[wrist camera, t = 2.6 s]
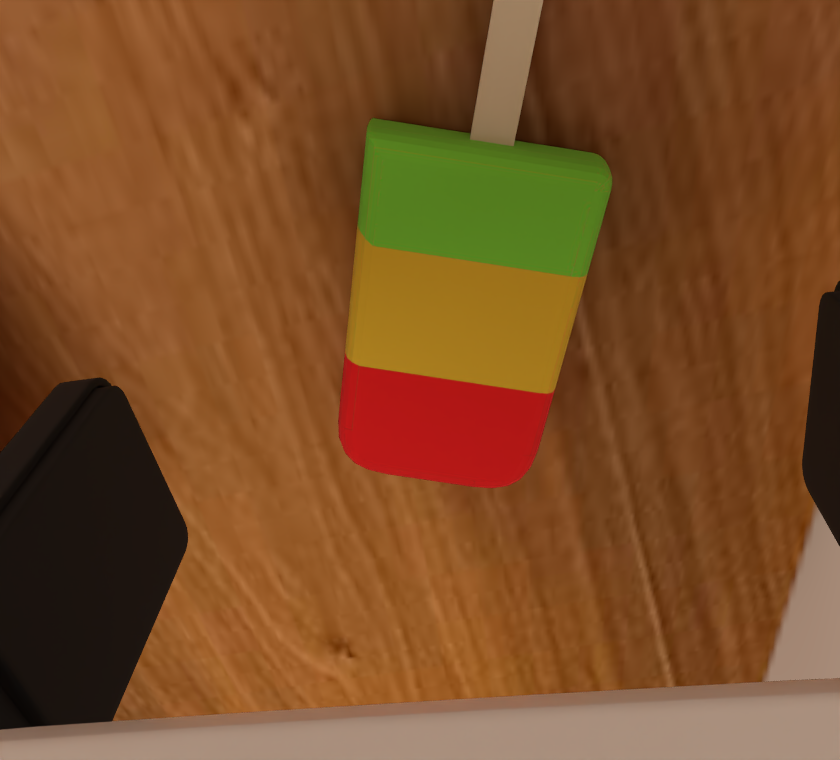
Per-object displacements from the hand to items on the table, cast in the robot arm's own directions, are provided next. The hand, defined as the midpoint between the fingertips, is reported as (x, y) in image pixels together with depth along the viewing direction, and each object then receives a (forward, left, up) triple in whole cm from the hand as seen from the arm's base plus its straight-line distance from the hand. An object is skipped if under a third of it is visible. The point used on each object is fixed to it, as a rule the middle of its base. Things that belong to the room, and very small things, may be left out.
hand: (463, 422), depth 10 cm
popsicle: (0, 0, -10) cm, 10 cm away
